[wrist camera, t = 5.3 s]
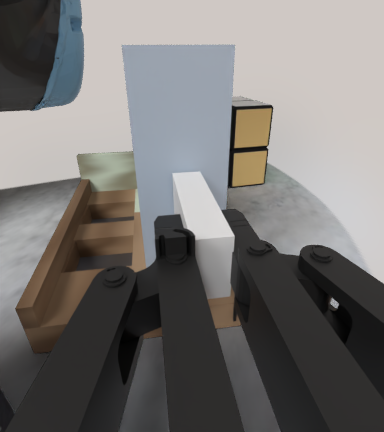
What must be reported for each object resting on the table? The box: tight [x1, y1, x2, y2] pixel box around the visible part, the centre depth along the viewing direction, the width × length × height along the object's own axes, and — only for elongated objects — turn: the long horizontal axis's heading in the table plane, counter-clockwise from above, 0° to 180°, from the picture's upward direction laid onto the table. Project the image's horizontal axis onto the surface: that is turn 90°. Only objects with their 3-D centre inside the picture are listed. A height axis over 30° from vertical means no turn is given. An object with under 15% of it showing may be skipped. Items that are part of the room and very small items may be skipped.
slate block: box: [122, 45, 235, 268], centre depth 19 cm, size 5×7×13 cm
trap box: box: [15, 151, 241, 354], centre depth 24 cm, size 13×19×6 cm
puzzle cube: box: [227, 97, 273, 188], centre depth 38 cm, size 10×10×10 cm
